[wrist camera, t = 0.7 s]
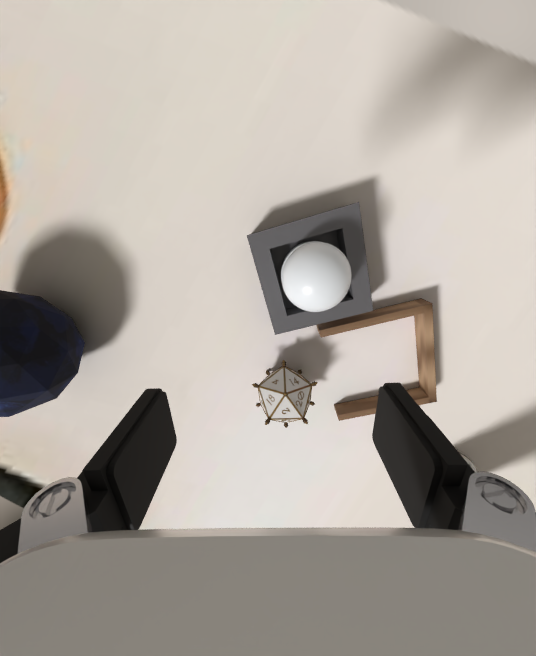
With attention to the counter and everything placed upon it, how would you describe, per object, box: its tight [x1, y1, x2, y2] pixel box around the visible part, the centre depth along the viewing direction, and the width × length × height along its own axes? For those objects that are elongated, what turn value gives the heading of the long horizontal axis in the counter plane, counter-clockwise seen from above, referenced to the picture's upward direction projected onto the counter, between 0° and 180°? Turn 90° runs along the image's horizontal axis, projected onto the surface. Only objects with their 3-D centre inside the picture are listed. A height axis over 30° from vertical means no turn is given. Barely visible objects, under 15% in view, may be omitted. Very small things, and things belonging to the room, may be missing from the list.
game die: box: [252, 360, 318, 428], centre depth 34 cm, size 9×8×10 cm
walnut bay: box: [317, 299, 437, 421], centre depth 35 cm, size 15×14×2 cm
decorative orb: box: [0, 290, 85, 417], centre depth 29 cm, size 14×15×15 cm
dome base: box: [247, 202, 373, 335], centre depth 30 cm, size 12×12×4 cm
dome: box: [281, 241, 352, 312], centre depth 26 cm, size 7×7×7 cm
